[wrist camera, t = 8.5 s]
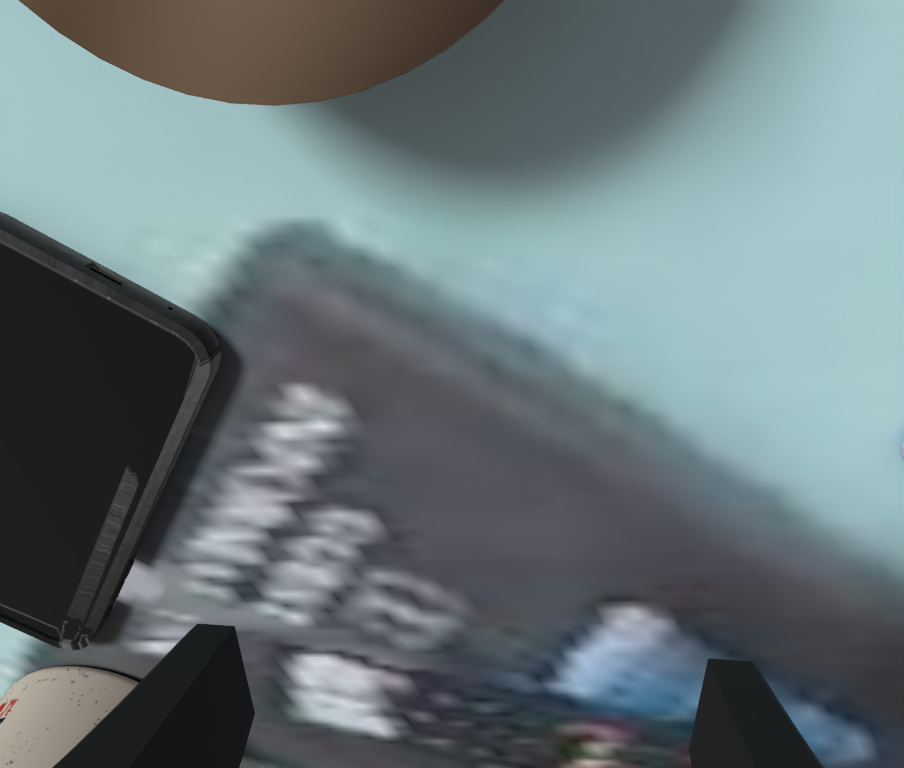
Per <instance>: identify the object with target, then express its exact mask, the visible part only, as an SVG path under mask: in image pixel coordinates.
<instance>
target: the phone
mask: <svg viewBox="0 0 904 768" xmlns="http://www.w3.org/2000/svg"><path fill="white" fill-rule="evenodd" d="M90 267H91V268H93V269H95V270H97V271H99V272H101V273H103V274H105V275H106V276H108V277H110V278H112V279H114V280H116V281H118V282H119V283H121V284H122V285H121V286H120V285H118V284H117V283H115V282H113V281H111V280H109V279H107V278H105V277H103V276H102V275H100V274H98V273H96V272H94V271H92V270H90V269H89V268H90ZM168 307H171V308H173V309H172V310H170V309H168ZM221 357H222V356H221V348H220V344H219V341H218V339H217V337H216V335H215V333H214V332H213V331H212V329H211V328H210V327H209V326H208V325H207V324H206V323H205V322H204V321H202V320H201V319H200V318H198V317H197V316H195V315H194V314H192V313H190V312H188V311H186V310H184V309H183V308H181V307H179V306H177V305H175V304H173V303H171V302H170V301H168V300H166V299H164V298H162V297H160V296H158V295H156V294H155V293H153V292H151V291H149V290H147V289H145V288H143V287H142V286H140V285H138V284H136V283H134V282H132V281H130V280H128V279H127V278H125V277H123V276H121V275H119V274H117V273H115V272H114V271H112V270H110V269H108V268H106V267H104V266H102V265H101V264H99V263H97V262H95V261H93V260H91V259H89V258H87V257H86V256H84V255H82V254H80V253H78V252H76V251H74V250H73V249H71V248H69V247H67V246H65V245H63V244H61V243H59V242H58V241H56V240H54V239H52V238H50V237H48V236H46V235H45V234H43V233H41V232H39V231H37V230H35V229H33V228H32V227H30V226H28V225H26V224H24V223H22V222H20V221H18V220H17V219H15V218H13V217H11V216H9V215H7V214H5V213H2V212H0V622H1V623H3V624H6V625H8V626H10V627H12V628H15V629H17V630H19V631H21V632H24V633H26V634H28V635H30V636H33V637H35V638H37V639H39V640H41V641H44V642H46V643H48V644H50V645H53V646H55V647H58V648H61V649H66V650H79V649H82V648H84V647H87V646H88V645H89V643H90V642H91V641H92V640H93V638H94V637H95V635H96V634H97V632H98V631H99V630H100V628H101V627H102V625H103V623H104V621H105V620H106V619H107V617H108V616H109V614H110V611H111V609H112V607H113V606H112V603H113V601H115V600H116V598H117V597H118V595H119V593H120V590H121V588H122V586H123V584H124V582H125V579H126V578H127V576H128V574H129V572H130V570H131V568H132V565H133V563H134V560H132V559H133V557H134V555H135V552H136V550H137V548H138V546H139V543H140V541H141V539H142V537H143V535H144V532H145V530H146V528H147V526H148V523H149V521H150V519H151V517H152V515H153V512H154V510H155V508H156V506H157V504H158V501H159V499H160V497H161V495H162V492H163V490H164V488H165V486H166V484H167V481H168V479H169V477H170V475H171V472H172V470H173V468H174V466H175V464H176V461H177V459H178V457H179V455H180V453H181V450H182V448H183V446H184V444H185V441H186V439H187V437H188V435H189V433H190V430H191V428H192V426H193V424H194V421H195V419H196V417H197V415H198V413H199V410H200V408H201V406H202V404H203V401H204V399H205V397H206V395H207V393H208V390H209V388H210V386H211V384H212V382H213V379H214V377H215V375H216V373H217V370H218V368H219V365H220V361H221Z"/></svg>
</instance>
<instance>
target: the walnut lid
mask: <svg viewBox="0 0 904 768" xmlns="http://www.w3.org/2000/svg"><path fill="white" fill-rule="evenodd" d="M19 1H20V2H21V3H23V4H24V5H25V6H26V7H28V8H29V9H30V10H31V11H33V12H34V13H35V14H36V15H38V16H39V17H40V18H41V19H43V20H44V21H45V22H46V23H48V24H49V25H50V26H51V27H53V28H54V29H55V30H56V31H58V32H59V33H61V34H62V35H64V36H65V37H67V38H69V39H70V40H72V41H73V42H75V43H76V44H78V45H80V46H81V47H83V48H84V49H86V50H87V51H89V52H91V53H92V54H94V55H95V56H97V57H98V58H100V59H102V60H104V61H106V62H108V63H110V64H112V65H114V66H116V67H118V68H120V69H122V70H125V71H127V72H129V73H131V74H133V75H135V76H137V77H139V78H141V79H143V80H146V81H149V82H152V83H155V84H158V85H161V86H164V87H167V88H169V89H172V90H175V91H178V92H181V93H184V94H187V95H192V96H197V97H202V98H207V99H213V100H218V101H223V102H228V103H237V104H256V105H275V106H276V105H287V104H298V103H308V102H319V101H323V100H327V99H331V98H335V97H340V96H344V95H348V94H352V93H356V92H360V91H363V90H366V89H368V88H371V87H373V86H376V85H378V84H380V83H383V82H385V81H388V80H390V79H393V78H395V77H398V76H400V75H403V74H405V73H407V72H409V71H411V70H413V69H414V68H416V67H418V66H419V65H421V64H423V63H425V62H426V61H428V60H430V59H431V58H433V57H435V56H437V55H438V54H440V53H442V52H443V51H445V50H447V49H449V48H450V47H451V46H453V45H454V44H455V43H456V42H458V41H459V40H460V39H461V38H463V37H464V36H465V35H466V34H468V33H469V32H470V31H472V30H473V29H474V28H475V27H477V26H478V25H479V24H480V23H482V22H483V21H484V20H486V19H487V18H488V17H489V16H490V15H491V14H492V13H493V12H494V11H495V10H496V9H497V8H498V7H499V6H500V5H501V4H502V3H503V1H504V0H19Z"/></svg>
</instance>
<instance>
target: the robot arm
mask: <svg viewBox="0 0 904 768" xmlns="http://www.w3.org/2000/svg"><path fill="white" fill-rule="evenodd" d="M900 454H901V457H902V458H903V459H904V442H903V443H902V444H901V447H900ZM254 714H255V712H254V708H253V704H252V699H251V695H250V691H249V686H248V682H247V678H246V673H245V669H244V665H243V660H242V656H241V652H240V647H239V643H238V639H237V634H236V630H235V626H223V625H209V624H197V625H196V626H195V627H193V628H192V629H191V630H190V631H189V632H188V633H187V634H186V635H185V636H184V637H183V638H182V639H181V640H180V641H179V642H178V643H177V644H176V645H175V647H174V648H173V649H172V650H171V651H170V652H169V653H168V654H167V655H166V656H165V657H164V658H163V659H162V660H161V661H160V662H159V663H158V664H157V665H156V666H155V667H154V668H153V669H152V670H151V671H150V672H149V673H148V674H147V675H146V676H145V677H144V678H143V679H142V680H141V681H140V682H139V683H138V684H137V686H136V687H135V688H134V689H133V690H132V691H131V692H130V693H129V694H128V695H127V696H126V697H125V698H124V699H123V700H122V701H121V702H120V703H119V704H118V705H117V706H116V707H115V708H114V709H113V710H112V711H111V712H110V713H109V714H108V715H107V716H105V717H104V718H103V719H102V720H101V721H100V722H99V723H98V724H97V725H96V726H95V727H94V728H93V729H92V730H91V731H90V732H89V733H88V734H87V735H86V736H85V737H84V738H83V739H82V740H81V741H80V742H79V743H78V744H77V745H76V746H75V747H74V748H73V749H72V750H71V751H70V752H68V753H67V754H66V755H65V756H64V757H63V758H62V759H61V760H60V761H59V762H58V763H57V764H55V765H54V766H53V767H52V768H239V766H240V763H241V760H242V756H243V753H244V750H245V746H246V743H247V739H248V736H249V732H250V728H251V725H252V721H253V718H254ZM689 752H690V759H691V766H692V768H823V766H822V765H821V763H820V762H819V760H818V759H817V758H816V756H815V755H814V753H813V752H812V750H811V749H810V747H809V746H808V744H807V743H806V741H805V740H804V738H803V737H802V735H801V734H800V732H799V731H798V730H797V728H796V727H795V725H794V724H793V722H792V720H791V719H790V717H789V716H788V714H787V713H786V711H785V710H784V708H783V707H782V705H781V704H780V702H779V701H778V699H777V697H776V696H775V694H774V693H773V691H772V690H771V688H770V686H769V685H768V683H767V682H766V680H765V679H764V677H763V675H762V674H761V672H760V670H759V669H758V668H757V666H756V665H755V664H754V663H753V662H751V661H736V660H722V659H708V662H707V667H706V672H705V676H704V681H703V686H702V690H701V695H700V700H699V705H698V709H697V714H696V719H695V723H694V728H693V733H692V737H691V742H690V747H689Z"/></svg>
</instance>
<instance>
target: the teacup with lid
mask: <svg viewBox="0 0 904 768" xmlns="http://www.w3.org/2000/svg"><path fill="white" fill-rule="evenodd" d="M138 683H139V682H137V681H135V680H133V679H130V678H128V677H125V676H122V675H119V674H116V673H113V672H109V671H105V670H101V669H96V668H89V667H79V666H59V667H51V668H46V669H42V670H38V671H36V672H33V673H30V674H28V675H26V676H24V677H22V678H21V679H19V680H18V681H16V682H15V683H14V684H13V685H12V686H10V687H9V689H8V690H7V691H6V692H5V693H4V695H3V696H2V697H1V699H0V768H52V767H53V766H54V765H55V764H57V763H58V762H59V761H60V760H61V759H62V758H63V757H64V756H65V755H66V754H67V753H68V752H70V751H71V750H72V749H73V748H74V747H75V746H76V745H77V744H78V743H79V742H80V741H81V740H82V739H83V738H84V737H85V736H86V735H87V734H88V733H89V732H90V731H91V730H92V729H93V728H94V727H95V726H96V725H97V724H98V723H99V722H100V721H101V720H102V719H103V718H104V717H105V716H107V715H108V714H109V713H110V712H111V711H112V710H113V709H114V708H115V707H116V706H117V705H118V704H119V703H120V702H121V701H122V700H123V699H124V698H125V697H126V696H127V695H128V694H129V693H130V692H131V691H132V690H133V689H134V688H135V687H136V686H137V684H138Z"/></svg>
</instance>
